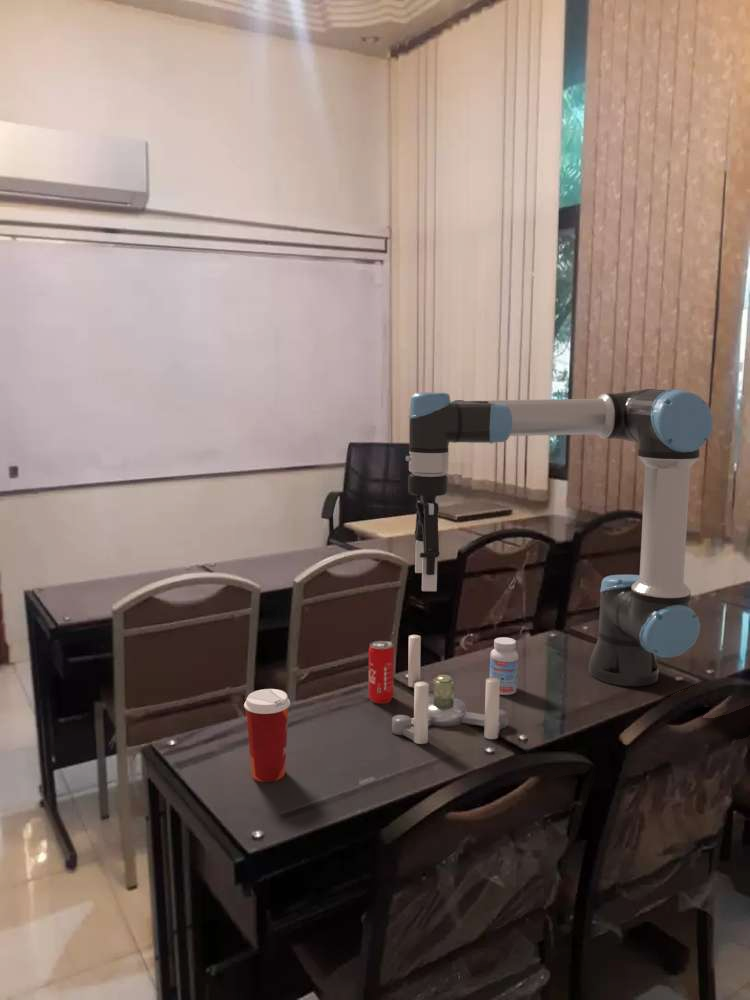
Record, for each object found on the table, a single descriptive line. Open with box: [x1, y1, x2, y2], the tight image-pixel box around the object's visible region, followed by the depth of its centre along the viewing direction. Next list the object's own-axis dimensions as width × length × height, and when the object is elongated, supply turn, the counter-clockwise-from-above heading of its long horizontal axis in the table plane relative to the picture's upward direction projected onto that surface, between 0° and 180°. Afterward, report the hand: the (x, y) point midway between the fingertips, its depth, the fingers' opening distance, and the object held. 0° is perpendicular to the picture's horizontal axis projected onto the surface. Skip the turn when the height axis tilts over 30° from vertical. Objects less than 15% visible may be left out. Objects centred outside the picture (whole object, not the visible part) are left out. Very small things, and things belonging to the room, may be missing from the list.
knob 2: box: [483, 677, 508, 740], centre depth 150 cm, size 9×4×11 cm, turn 159°
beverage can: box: [368, 640, 395, 704], centre depth 164 cm, size 5×5×12 cm
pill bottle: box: [489, 636, 520, 696], centre depth 169 cm, size 6×6×11 cm
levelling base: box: [410, 674, 485, 727], centre depth 158 cm, size 17×14×8 cm
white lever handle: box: [407, 634, 434, 693], centre depth 168 cm, size 9×4×11 cm, turn 39°
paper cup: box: [243, 688, 291, 783], centre depth 133 cm, size 8×8×14 cm
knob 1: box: [391, 682, 429, 745], centre depth 147 cm, size 9×4×11 cm, turn 39°
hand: (425, 581), depth 154 cm, fingers open, 13 cm apart
